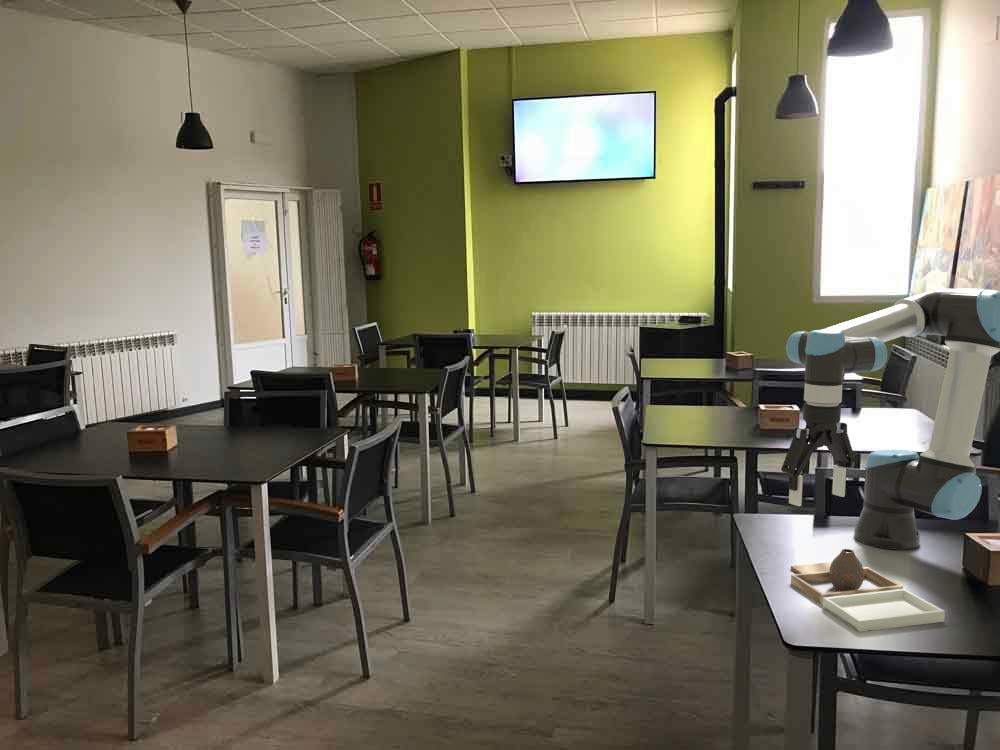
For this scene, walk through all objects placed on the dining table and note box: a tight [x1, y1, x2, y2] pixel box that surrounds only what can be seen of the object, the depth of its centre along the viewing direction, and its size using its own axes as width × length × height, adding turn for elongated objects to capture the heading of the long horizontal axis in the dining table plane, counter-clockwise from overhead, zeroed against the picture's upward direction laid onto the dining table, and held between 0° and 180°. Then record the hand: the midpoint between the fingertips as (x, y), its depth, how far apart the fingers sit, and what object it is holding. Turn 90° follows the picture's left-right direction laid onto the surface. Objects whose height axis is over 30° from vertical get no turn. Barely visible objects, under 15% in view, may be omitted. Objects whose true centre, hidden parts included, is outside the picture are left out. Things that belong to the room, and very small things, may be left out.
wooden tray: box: [790, 566, 904, 605], centre depth 181 cm, size 19×11×2 cm, turn 104°
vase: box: [829, 548, 865, 592], centre depth 180 cm, size 7×7×9 cm
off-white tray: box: [822, 588, 946, 633], centre depth 168 cm, size 19×11×2 cm, turn 104°
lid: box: [790, 561, 832, 574], centre depth 191 cm, size 14×6×1 cm, turn 104°
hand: (817, 500), depth 180 cm, fingers open, 13 cm apart
